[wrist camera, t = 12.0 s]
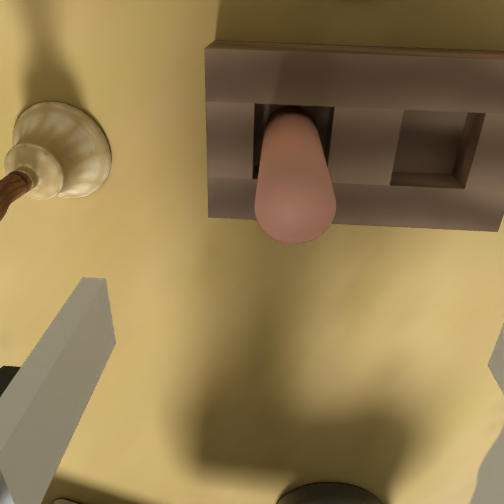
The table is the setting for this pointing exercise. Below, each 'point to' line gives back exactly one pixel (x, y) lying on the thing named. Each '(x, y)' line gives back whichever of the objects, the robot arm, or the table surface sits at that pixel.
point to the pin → (293, 179)
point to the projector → (63, 502)
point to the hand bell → (54, 155)
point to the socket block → (365, 129)
